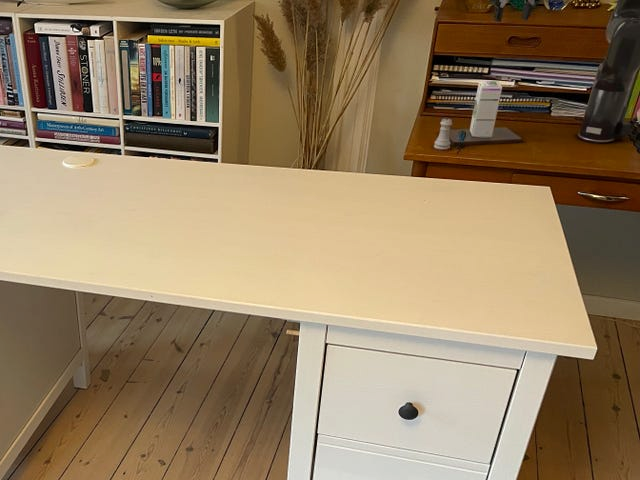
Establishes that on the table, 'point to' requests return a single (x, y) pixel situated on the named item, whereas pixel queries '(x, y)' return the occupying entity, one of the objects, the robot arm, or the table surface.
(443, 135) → the rook chess piece
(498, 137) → the grey rectangular panel
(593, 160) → the table surface
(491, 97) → the syrup box
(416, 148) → the table surface
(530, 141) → the table surface
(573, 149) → the table surface
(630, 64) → the robot arm
